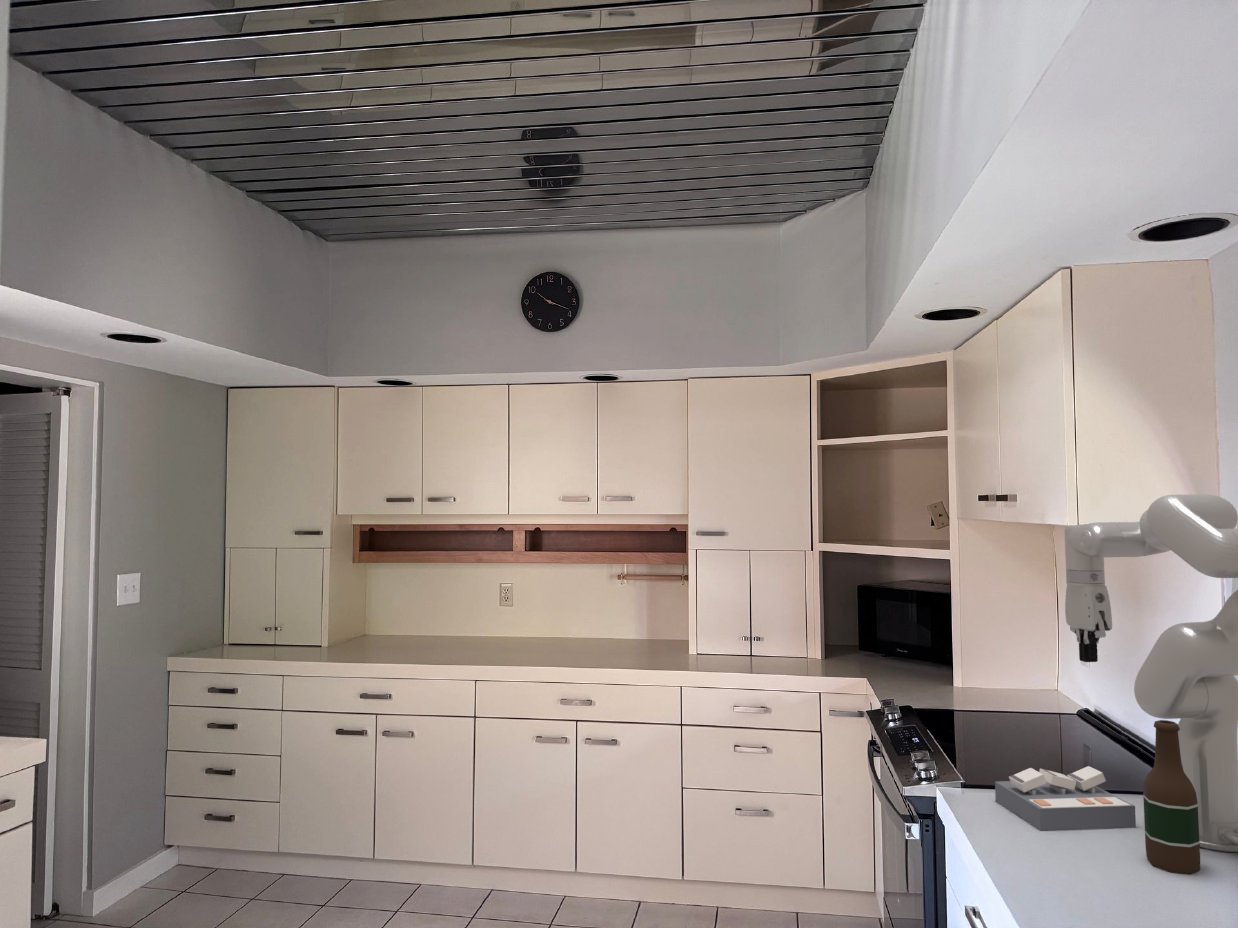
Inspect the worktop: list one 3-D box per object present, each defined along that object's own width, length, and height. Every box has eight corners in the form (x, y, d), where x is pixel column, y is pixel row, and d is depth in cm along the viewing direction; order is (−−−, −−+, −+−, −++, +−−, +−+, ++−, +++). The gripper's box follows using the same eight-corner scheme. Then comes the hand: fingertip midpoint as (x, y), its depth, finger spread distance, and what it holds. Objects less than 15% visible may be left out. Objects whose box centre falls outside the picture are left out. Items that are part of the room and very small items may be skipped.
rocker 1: (1046, 782, 163) (1043, 773, 163) (1024, 792, 163) (1020, 783, 163) (1033, 775, 167) (1030, 767, 168) (1011, 784, 167) (1008, 776, 167)
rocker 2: (1105, 781, 164) (1102, 772, 164) (1083, 790, 164) (1080, 781, 164) (1091, 774, 168) (1088, 765, 168) (1070, 783, 168) (1066, 774, 168)
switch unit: (1135, 827, 156) (1134, 800, 157) (1040, 830, 155) (1039, 803, 155) (1082, 798, 172) (1081, 774, 173) (995, 801, 171) (994, 776, 171)
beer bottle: (1149, 851, 145) (1142, 713, 147) (1202, 863, 140) (1195, 720, 142) (1142, 866, 139) (1136, 722, 141) (1198, 879, 134) (1191, 729, 136)
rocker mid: (1074, 789, 163) (1076, 780, 164) (1050, 783, 163) (1052, 774, 163) (1060, 782, 168) (1062, 773, 168) (1038, 776, 167) (1040, 767, 168)
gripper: (1124, 580, 176) (1127, 667, 175) (1080, 575, 191) (1083, 655, 190) (1090, 581, 175) (1094, 667, 174) (1049, 575, 190) (1052, 655, 189)
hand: (1088, 661), depth 182 cm, fingers closed
